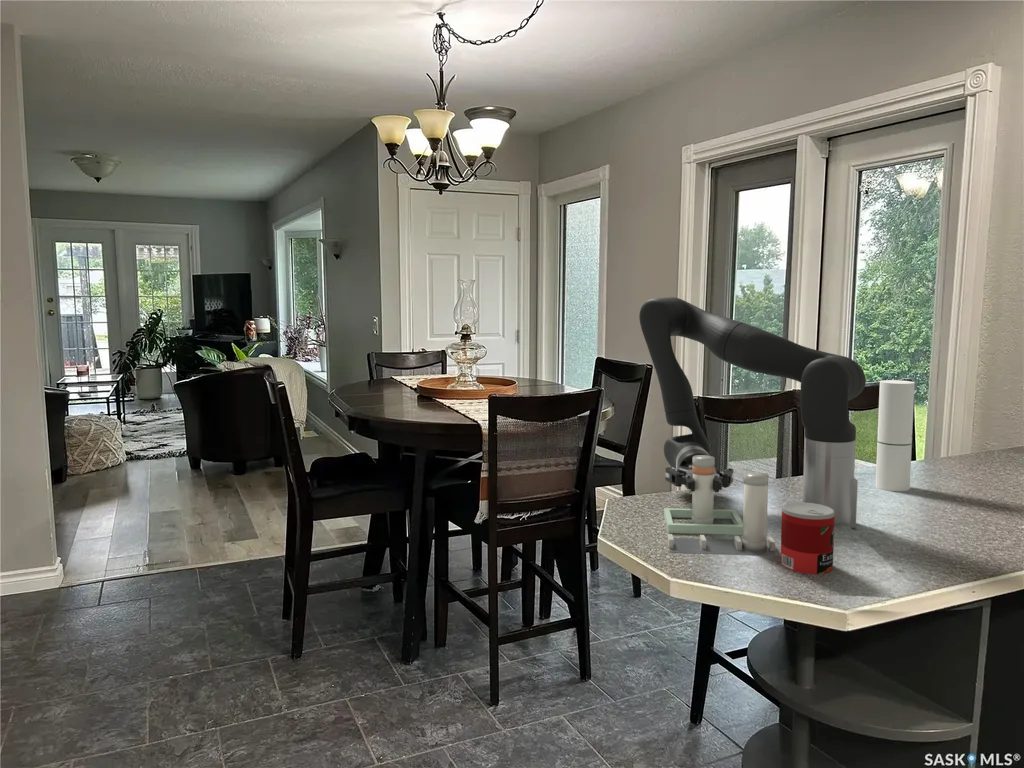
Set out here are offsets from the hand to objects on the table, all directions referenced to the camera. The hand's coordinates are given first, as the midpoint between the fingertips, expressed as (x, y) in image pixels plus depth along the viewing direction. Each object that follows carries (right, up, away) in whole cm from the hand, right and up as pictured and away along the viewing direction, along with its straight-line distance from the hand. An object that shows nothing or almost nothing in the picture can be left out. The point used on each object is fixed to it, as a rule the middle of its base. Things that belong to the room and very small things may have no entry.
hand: (705, 486), depth 138 cm
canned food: (+12, -12, -18) cm, 25 cm away
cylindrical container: (+53, -5, +34) cm, 63 cm away
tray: (+1, -9, +4) cm, 10 cm away
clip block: (0, -11, -9) cm, 14 cm away
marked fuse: (0, -8, +4) cm, 8 cm away
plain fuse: (+6, -9, -10) cm, 15 cm away
